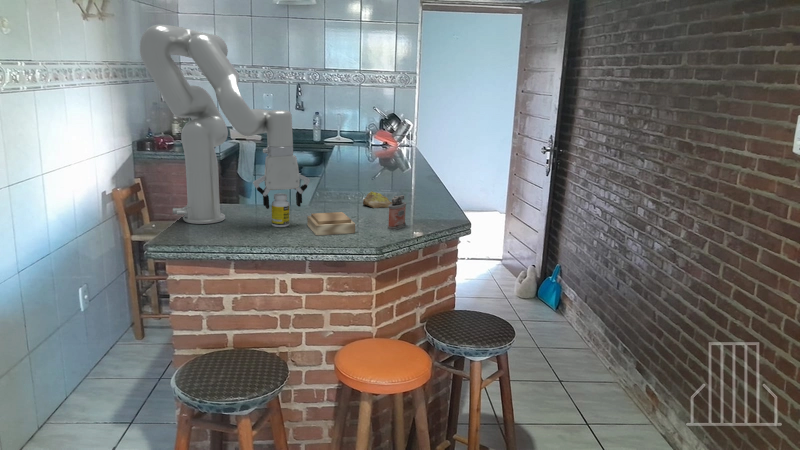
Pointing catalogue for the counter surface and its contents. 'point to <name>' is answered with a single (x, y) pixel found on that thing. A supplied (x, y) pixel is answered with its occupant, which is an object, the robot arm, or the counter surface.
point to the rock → (376, 200)
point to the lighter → (397, 213)
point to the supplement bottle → (280, 210)
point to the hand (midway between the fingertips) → (283, 206)
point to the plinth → (330, 223)
